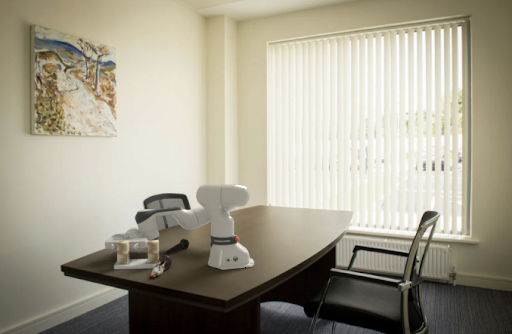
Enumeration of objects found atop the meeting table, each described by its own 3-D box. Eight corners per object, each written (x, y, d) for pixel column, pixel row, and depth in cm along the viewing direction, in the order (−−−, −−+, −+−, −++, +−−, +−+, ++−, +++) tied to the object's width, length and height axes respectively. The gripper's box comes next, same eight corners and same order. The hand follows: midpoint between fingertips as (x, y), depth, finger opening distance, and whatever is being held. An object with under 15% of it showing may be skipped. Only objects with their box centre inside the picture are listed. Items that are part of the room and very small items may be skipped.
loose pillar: (129, 260, 180) (129, 240, 180) (127, 263, 176) (127, 242, 175) (119, 261, 180) (119, 240, 179) (117, 264, 175) (117, 243, 175)
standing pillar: (158, 260, 182) (158, 239, 181) (157, 263, 177) (157, 242, 177) (149, 260, 181) (149, 240, 181) (147, 263, 177) (147, 242, 176)
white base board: (162, 261, 185) (162, 258, 185) (159, 268, 175) (159, 264, 175) (118, 262, 182) (118, 259, 182) (113, 269, 172) (112, 266, 172)
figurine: (172, 251, 176) (153, 267, 159) (176, 264, 177) (158, 282, 159) (159, 253, 178) (138, 270, 161) (163, 267, 179) (143, 284, 162)
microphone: (165, 262, 195) (190, 248, 212) (167, 252, 193) (192, 239, 210) (158, 257, 197) (183, 244, 214) (159, 248, 195) (184, 235, 212)
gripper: (150, 246, 194) (145, 253, 180) (109, 247, 191) (101, 254, 177) (150, 234, 193) (145, 240, 180) (109, 234, 191) (101, 241, 177)
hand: (123, 247), depth 178 cm, fingers open, 8 cm apart
